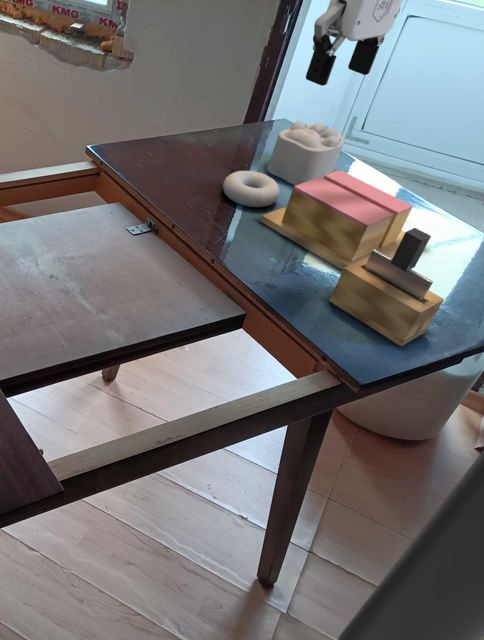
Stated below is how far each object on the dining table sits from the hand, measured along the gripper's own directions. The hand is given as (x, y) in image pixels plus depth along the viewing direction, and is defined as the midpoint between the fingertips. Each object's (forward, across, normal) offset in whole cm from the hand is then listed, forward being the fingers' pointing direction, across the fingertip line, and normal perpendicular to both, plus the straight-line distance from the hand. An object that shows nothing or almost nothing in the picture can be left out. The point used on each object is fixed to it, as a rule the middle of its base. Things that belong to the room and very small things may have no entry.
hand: (337, 76), depth 97 cm
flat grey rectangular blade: (+26, -4, -22) cm, 34 cm away
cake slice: (+26, +13, -5) cm, 29 cm away
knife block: (+27, -4, -22) cm, 35 cm away
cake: (+27, +11, -5) cm, 29 cm away
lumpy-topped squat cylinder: (+27, +24, +14) cm, 39 cm away
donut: (+27, +7, +12) cm, 30 cm away
